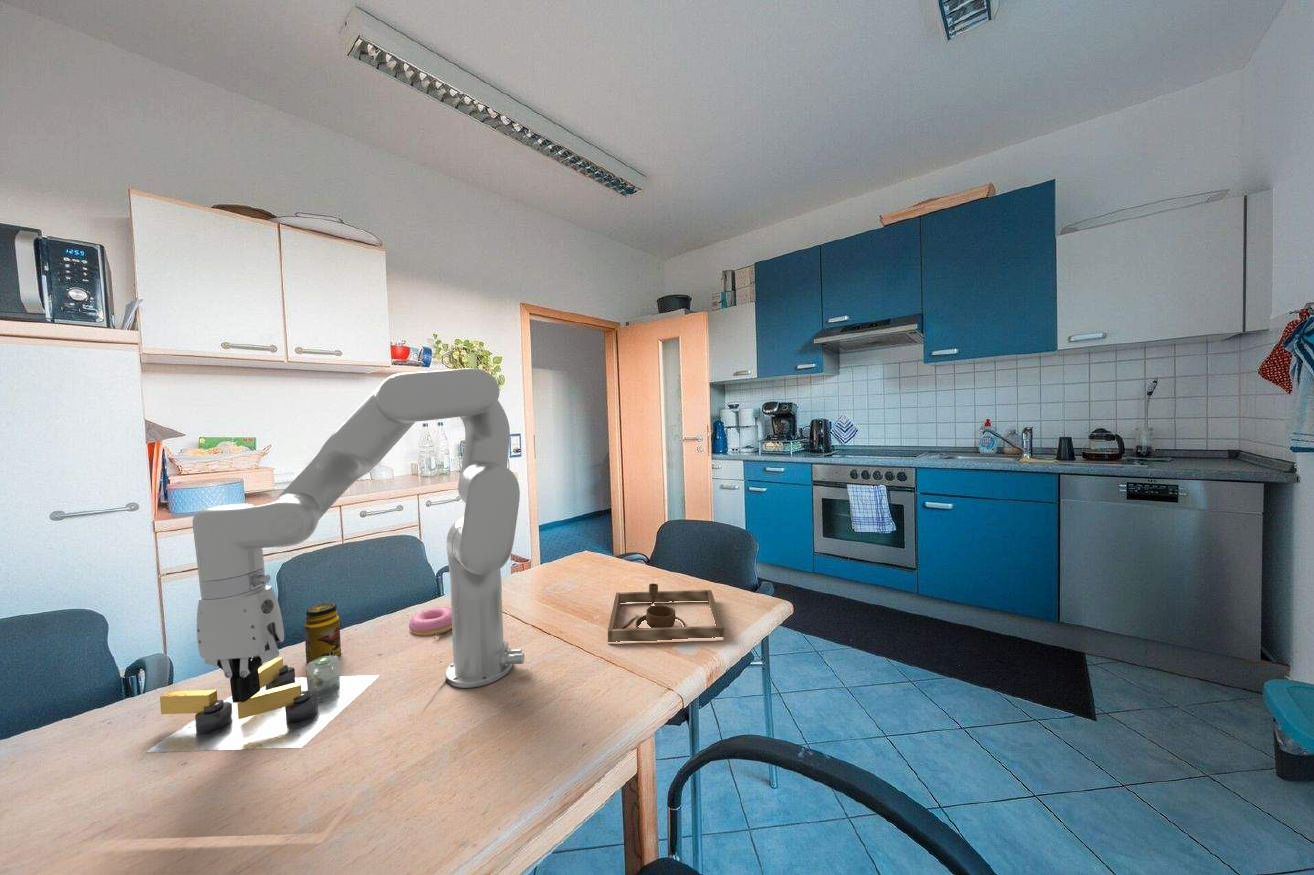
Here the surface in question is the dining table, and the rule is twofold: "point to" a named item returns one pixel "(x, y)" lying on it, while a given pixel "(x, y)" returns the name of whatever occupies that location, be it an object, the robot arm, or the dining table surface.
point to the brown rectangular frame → (666, 632)
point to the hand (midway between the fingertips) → (246, 696)
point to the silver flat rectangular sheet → (276, 716)
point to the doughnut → (431, 621)
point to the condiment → (322, 632)
